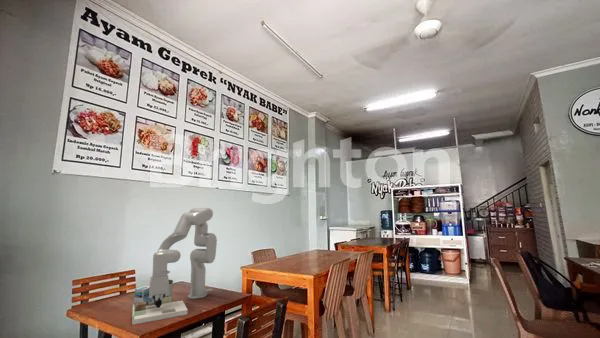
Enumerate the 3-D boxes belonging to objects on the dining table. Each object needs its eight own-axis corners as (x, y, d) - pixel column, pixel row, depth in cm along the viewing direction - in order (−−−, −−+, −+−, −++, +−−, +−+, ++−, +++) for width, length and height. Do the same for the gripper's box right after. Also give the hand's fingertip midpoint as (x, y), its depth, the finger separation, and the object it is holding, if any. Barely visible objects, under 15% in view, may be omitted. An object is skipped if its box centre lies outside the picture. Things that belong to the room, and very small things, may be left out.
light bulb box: (142, 308, 171) (143, 289, 173) (133, 307, 172) (134, 289, 174) (154, 302, 181) (155, 284, 183) (145, 301, 183) (146, 284, 184)
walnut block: (144, 310, 159) (145, 301, 160) (145, 313, 155) (146, 303, 156) (134, 312, 156) (135, 303, 157) (135, 315, 152) (135, 305, 153)
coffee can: (150, 307, 171) (151, 283, 173) (159, 302, 181) (160, 279, 183) (166, 307, 171) (168, 283, 173) (174, 302, 181) (175, 279, 183)
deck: (182, 304, 176) (182, 297, 177) (187, 314, 159) (187, 306, 160) (132, 313, 163) (132, 304, 163) (132, 324, 146) (132, 315, 146)
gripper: (173, 271, 171) (171, 302, 168) (144, 274, 163) (143, 307, 161) (174, 273, 164) (173, 306, 162) (145, 277, 157) (143, 311, 154)
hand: (158, 307), depth 161 cm, fingers closed
